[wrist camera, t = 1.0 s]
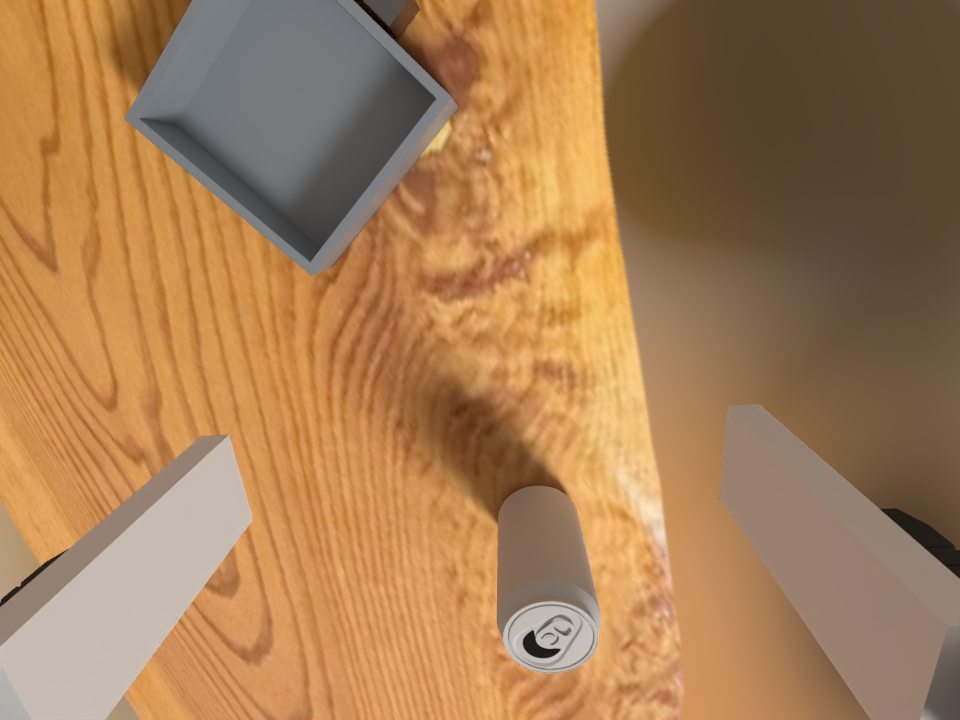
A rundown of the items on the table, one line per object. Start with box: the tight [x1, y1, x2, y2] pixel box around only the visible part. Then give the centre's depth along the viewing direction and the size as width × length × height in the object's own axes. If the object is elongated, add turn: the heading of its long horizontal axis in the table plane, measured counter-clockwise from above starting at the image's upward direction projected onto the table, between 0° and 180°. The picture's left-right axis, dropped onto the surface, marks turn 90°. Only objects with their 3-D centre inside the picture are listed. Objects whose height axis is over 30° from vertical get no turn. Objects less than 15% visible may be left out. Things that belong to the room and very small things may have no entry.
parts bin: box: [125, 0, 458, 276], centre depth 30 cm, size 13×13×4 cm
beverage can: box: [497, 485, 601, 673], centre depth 35 cm, size 6×6×12 cm
